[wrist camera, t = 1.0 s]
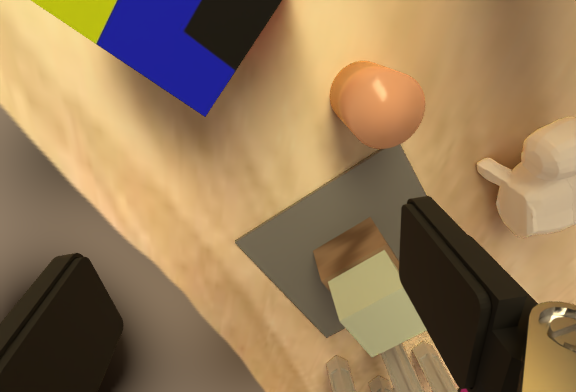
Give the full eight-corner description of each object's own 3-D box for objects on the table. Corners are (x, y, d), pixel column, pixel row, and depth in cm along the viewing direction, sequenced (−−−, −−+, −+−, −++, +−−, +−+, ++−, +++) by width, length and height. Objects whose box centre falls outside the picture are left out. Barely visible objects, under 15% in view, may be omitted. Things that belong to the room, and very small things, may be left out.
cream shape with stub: (540, 172, 40) (570, 72, 29) (603, 227, 35) (669, 129, 23) (473, 204, 41) (476, 120, 30) (522, 262, 36) (549, 185, 25)
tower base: (370, 216, 36) (386, 243, 32) (397, 259, 40) (416, 289, 35) (312, 250, 38) (321, 281, 33) (344, 289, 41) (355, 321, 37)
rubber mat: (396, 139, 33) (398, 140, 32) (461, 263, 42) (463, 265, 41) (235, 240, 36) (235, 242, 36) (325, 335, 45) (326, 337, 45)
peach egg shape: (373, 47, 29) (407, 54, 22) (399, 101, 31) (436, 121, 25) (318, 85, 30) (336, 103, 23) (347, 135, 32) (371, 162, 26)
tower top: (384, 249, 32) (405, 286, 28) (410, 288, 35) (433, 327, 31) (327, 281, 33) (339, 321, 29) (357, 316, 36) (371, 357, 32)
